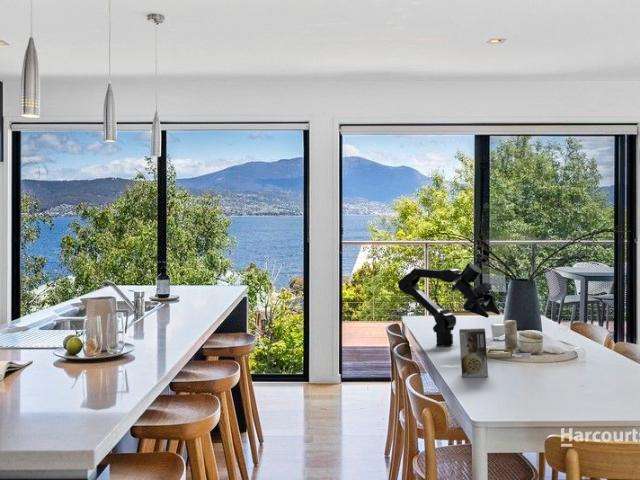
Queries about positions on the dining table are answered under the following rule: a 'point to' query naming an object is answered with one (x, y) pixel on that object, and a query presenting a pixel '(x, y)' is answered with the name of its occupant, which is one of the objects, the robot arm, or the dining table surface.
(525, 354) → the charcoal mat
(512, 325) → the disc
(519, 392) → the dining table surface
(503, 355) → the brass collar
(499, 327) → the shot glass
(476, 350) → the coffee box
